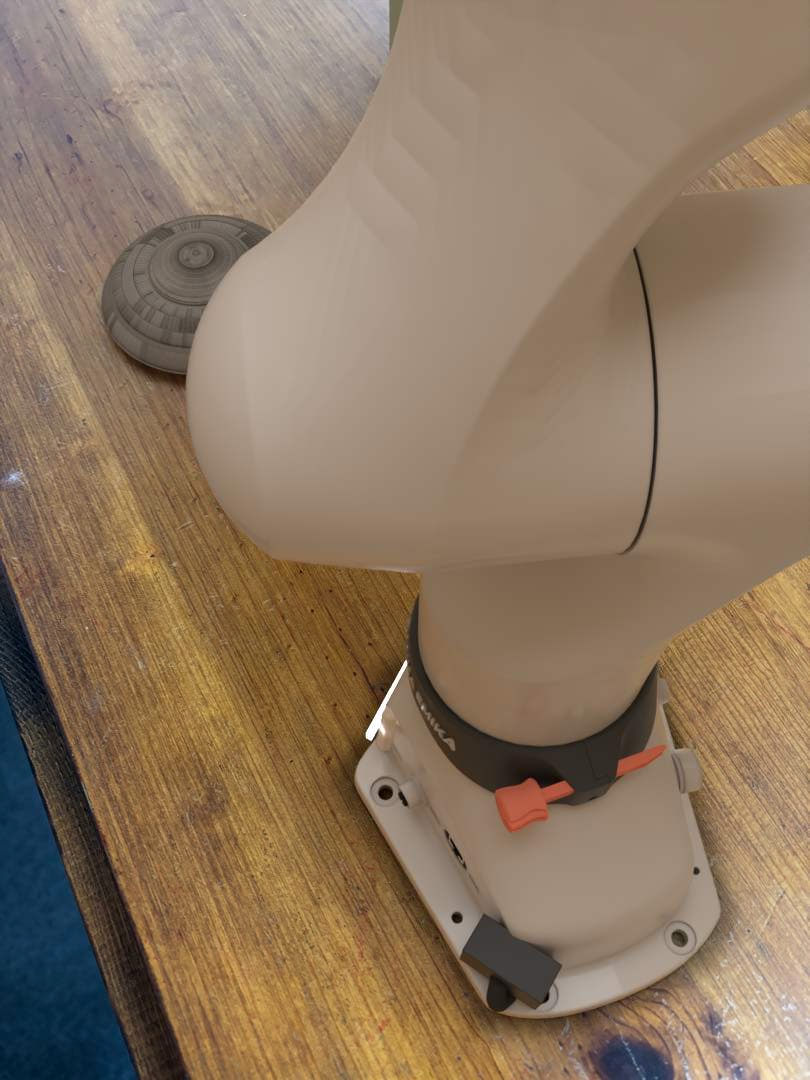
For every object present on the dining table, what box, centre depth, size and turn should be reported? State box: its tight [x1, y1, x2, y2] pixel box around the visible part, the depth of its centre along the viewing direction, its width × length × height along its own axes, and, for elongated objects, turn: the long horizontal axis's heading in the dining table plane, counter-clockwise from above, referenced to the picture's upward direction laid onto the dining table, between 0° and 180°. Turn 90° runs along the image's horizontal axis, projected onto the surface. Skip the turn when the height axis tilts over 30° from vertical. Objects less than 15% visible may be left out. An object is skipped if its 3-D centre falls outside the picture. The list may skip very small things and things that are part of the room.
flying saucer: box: [100, 214, 273, 376], centre depth 76 cm, size 15×15×6 cm
